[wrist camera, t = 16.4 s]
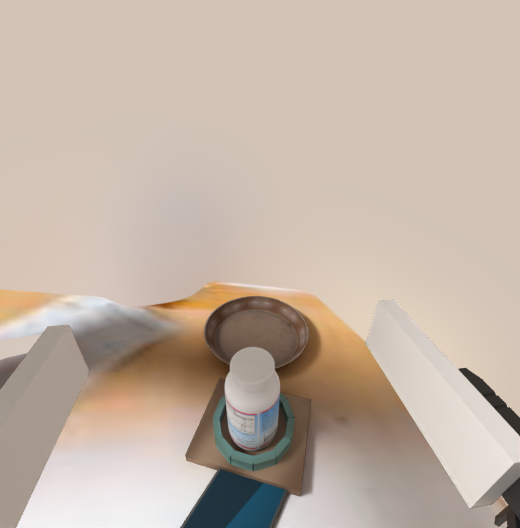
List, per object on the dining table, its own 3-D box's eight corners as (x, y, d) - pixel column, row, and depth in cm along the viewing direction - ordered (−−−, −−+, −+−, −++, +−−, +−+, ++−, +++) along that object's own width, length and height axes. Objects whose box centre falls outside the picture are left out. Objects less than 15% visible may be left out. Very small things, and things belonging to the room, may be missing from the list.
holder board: (186, 460, 31) (183, 448, 30) (220, 383, 40) (219, 370, 39) (300, 496, 28) (302, 484, 27) (309, 405, 37) (312, 392, 36)
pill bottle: (268, 397, 37) (270, 336, 31) (284, 443, 32) (291, 380, 26) (223, 409, 35) (218, 347, 30) (233, 460, 30) (229, 397, 24)
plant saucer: (303, 310, 55) (304, 297, 54) (311, 387, 40) (313, 373, 38) (217, 304, 56) (216, 292, 55) (192, 378, 41) (190, 364, 39)
